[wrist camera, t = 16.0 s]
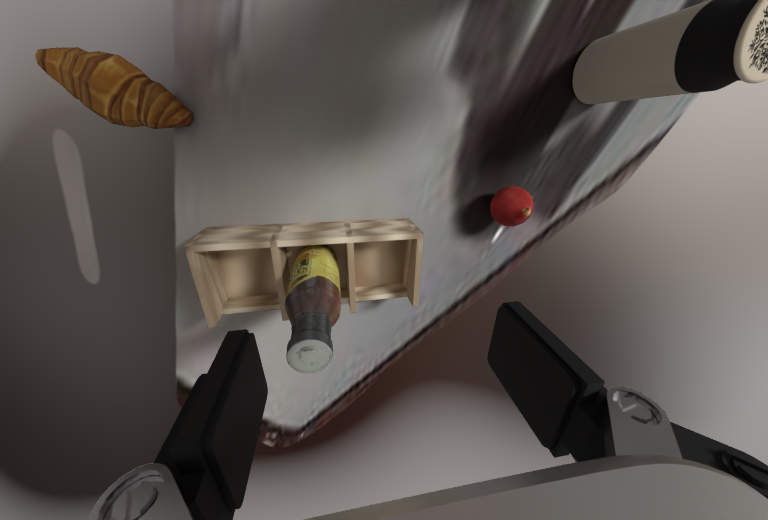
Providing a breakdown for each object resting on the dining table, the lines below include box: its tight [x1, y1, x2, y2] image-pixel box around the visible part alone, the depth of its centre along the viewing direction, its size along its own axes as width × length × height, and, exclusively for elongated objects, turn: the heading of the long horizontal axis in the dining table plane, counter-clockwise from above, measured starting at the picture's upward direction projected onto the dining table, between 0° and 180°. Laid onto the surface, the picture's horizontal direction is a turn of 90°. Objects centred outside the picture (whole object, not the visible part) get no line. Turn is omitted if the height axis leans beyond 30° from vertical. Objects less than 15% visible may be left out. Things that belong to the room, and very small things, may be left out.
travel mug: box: [573, 0, 768, 104], centre depth 32 cm, size 8×8×18 cm
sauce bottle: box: [285, 244, 341, 373], centre depth 33 cm, size 6×6×20 cm
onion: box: [490, 186, 534, 226], centre depth 41 cm, size 6×6×8 cm
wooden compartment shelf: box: [184, 219, 423, 328], centre depth 40 cm, size 29×12×7 cm, turn 89°
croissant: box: [36, 48, 193, 129], centre depth 29 cm, size 14×7×5 cm, turn 66°
